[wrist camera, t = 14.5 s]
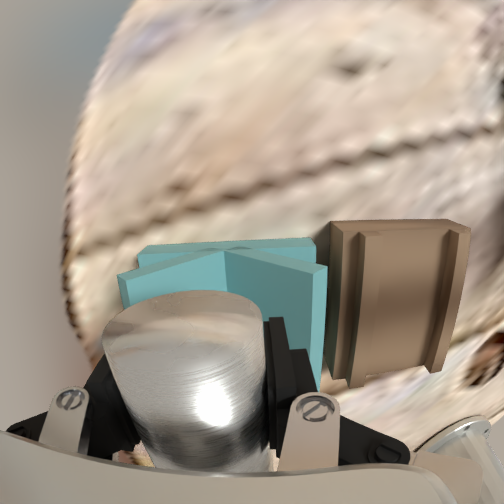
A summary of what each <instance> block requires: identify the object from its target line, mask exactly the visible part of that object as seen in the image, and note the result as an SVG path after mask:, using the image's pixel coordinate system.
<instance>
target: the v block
mask: <svg viewBox="0 0 504 504" xmlns="http://www.w3.org/2000/svg"><path fill="white" fill-rule="evenodd" d="M137 256H138V262H139V268H138V269H135V270H132V271H128V272H125V273H122V274H118V275H117V279H118V284H119V289H120V293H121V298H122V303H123V307H124V310H125V309H127V308H129V307H131V306H132V305H135V304H137V303H139V302H142V301H144V300H147V299H150V298H153V297H157V296H160V295H164V294H169V293H175V292H181V291H191V290H215V291H224V292H230V293H234V294H237V295H240V296H243V297H245V298H247V299H249V300H251V301H252V302H253V303H255V304H256V305H257V306H258V308H259V309H260V311H261V314H262V322H263V321H269V317H283V318H284V323H285V328H286V333H287V338H288V343H289V349H303V348H306V349H307V352H308V356H309V360H310V363H311V367H312V371H313V375H314V378H315V382H316V386H317V390H318V392H319V389H320V379H321V368H322V357H323V344H324V330H325V314H326V294H327V268H328V266H324V265H320V264H316V245H315V244H314V242H313V241H312V240H311V238H288V239H265V240H244V241H224V242H204V243H185V244H166V245H149V246H147V247H145V248H144V249H143V250H142V251H141V252H140V253H139V254H138V255H137ZM263 335H264V328H263Z"/></svg>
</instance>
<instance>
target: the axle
mask: <svg viewBox="0 0 504 504" xmlns="http://www.w3.org/2000/svg"><path fill="white" fill-rule="evenodd" d="M102 345H103V348H104V351H105V354H106V357H107V360H108V363H109V365H110V368H111V371H112V373H113V376H114V379H115V381H116V384H117V386H118V389H119V391H120V394H121V396H122V399H123V401H124V403H125V406H126V408H127V410H128V413H129V415H130V417H131V419H132V421H133V424H134V426H135V428H136V430H137V432H138V434H139V436H140V438H141V440H142V442H143V444H144V446H145V448H146V450H147V452H148V454H149V456H150V458H151V460H152V462H153V464H154V466H155V467H156V468H163V469H173V470H184V471H199V472H226V473H248V472H274V469H273V455H272V449H270V445H269V417H268V390H267V374H266V361H265V348H264V335H263V322H262V314H261V311H260V309H259V308H258V306H257V305H256V304H255V303H253V302H252V301H251V300H249V299H247V298H245V297H243V296H240V295H237V294H234V293H230V292H224V291H215V290H191V291H181V292H175V293H169V294H164V295H160V296H157V297H153V298H150V299H147V300H144V301H142V302H139V303H137V304H135V305H132V306H131V307H129V308H127V309H125V310H123V311H122V312H120V313H119V314H118V315H116V316H115V317H114V318H113V319H112V320H111V321H110V322H109V323H108V324H107V326H106V327H105V329H104V331H103V334H102Z"/></svg>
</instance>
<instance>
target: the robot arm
mask: <svg viewBox="0 0 504 504" xmlns="http://www.w3.org/2000/svg"><path fill="white" fill-rule="evenodd" d="M263 328H264V348H265V361H266V374H267V390H268V417H269V445H270V449H276V457H278V458H279V459H280V460H279V465H278V469H277V471H275V472H248V473H226V472H199V471H184V470H173V469H163V468H155V467H147V466H140V465H133V464H127V463H121V462H118V457H119V456H118V451H120V450H124V451H131V452H133V450H134V447H135V444H139V443H140V440H141V438H140V436H139V434H138V432H137V430H136V428H135V426H134V424H133V421H132V419H131V417H130V415H129V413H128V410H127V408H126V406H125V403H124V401H123V399H122V396H121V394H120V391H119V389H118V386H117V384H116V381H115V379H114V376H113V373H112V371H111V368H110V365H109V363H108V360H107V357H106V354H104V355H103V357H102V358H101V360H100V361H99V363H98V364H97V366H96V367H95V369H94V371H93V372H92V374H91V375H90V377H89V379H88V380H87V383H86V384H85V386H84V388H81V387H76V386H73V387H67V388H65V389H63V390H61V391H59V392H58V393H57V394H56V395H55V396H54V398H53V400H52V403H51V405H50V408H49V411H47V412H44V413H42V414H39V415H37V416H34V417H31V418H29V419H26V420H23V421H21V422H18V423H15V424H13V425H11V426H10V427H9V428H8V429H7V430H6V432H5V431H1V430H0V504H504V467H503V466H502V464H501V462H500V461H499V459H498V457H497V456H496V454H495V453H494V451H493V450H492V448H491V446H490V445H489V443H488V442H487V440H486V439H487V438H488V436H489V433H490V430H491V425H490V422H489V421H488V420H487V418H486V417H484V416H474V417H470V418H467V419H464V420H462V421H459V422H457V423H455V424H453V425H452V426H450V427H448V428H446V429H445V430H443V431H442V432H440V433H439V434H437V435H436V436H435V437H433V438H432V439H430V440H429V441H428V442H427V443H426V444H424V445H423V446H422V447H421V448H420V449H419V450H418V451H417V452H416V453H415V452H411V451H409V449H408V447H407V446H406V445H405V444H404V443H403V442H401V441H399V440H397V439H395V438H392V437H390V436H387V435H385V434H382V433H380V432H377V431H375V430H373V429H370V428H368V427H366V426H363V425H361V424H359V423H356V422H354V421H352V420H350V419H347V418H345V417H343V416H341V415H340V406H339V403H338V402H337V400H336V399H335V398H333V397H332V396H331V395H328V394H325V393H320V392H318V390H317V386H316V382H315V378H314V375H313V371H312V367H311V363H310V360H309V356H308V352H307V349H306V348H303V349H289V343H288V338H287V333H286V328H285V323H284V318H283V317H269V321H263Z"/></svg>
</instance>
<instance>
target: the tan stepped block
mask: <svg viewBox="0 0 504 504" xmlns="http://www.w3.org/2000/svg"><path fill="white" fill-rule="evenodd" d="M470 239H471V228H468V227H466V226H463V225H461V224H458V223H456V222H453V221H451V220H448V219H403V220H354V221H330V263H329V289H328V309H327V325H326V339H325V352H324V356H325V359H326V362H327V365H328V368H329V371H330V374H331V377H332V380H336V379H346V381H347V384H348V387H349V389H351V388H358V387H364V383H365V378H366V375H373V374H379V373H385V372H391V371H396V370H402V369H407V368H412V367H417V366H422V365H424V366H425V367H426V368H427V370H428V371H429V373H430V374H431V373H435V372H439V371H441V370H442V367H443V364H444V361H445V358H446V354H447V351H448V348H449V344H450V341H451V337H452V333H453V329H454V326H455V322H456V317H457V313H458V309H459V304H460V300H461V295H462V290H463V285H464V279H465V274H466V268H467V261H468V254H469V247H470Z"/></svg>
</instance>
